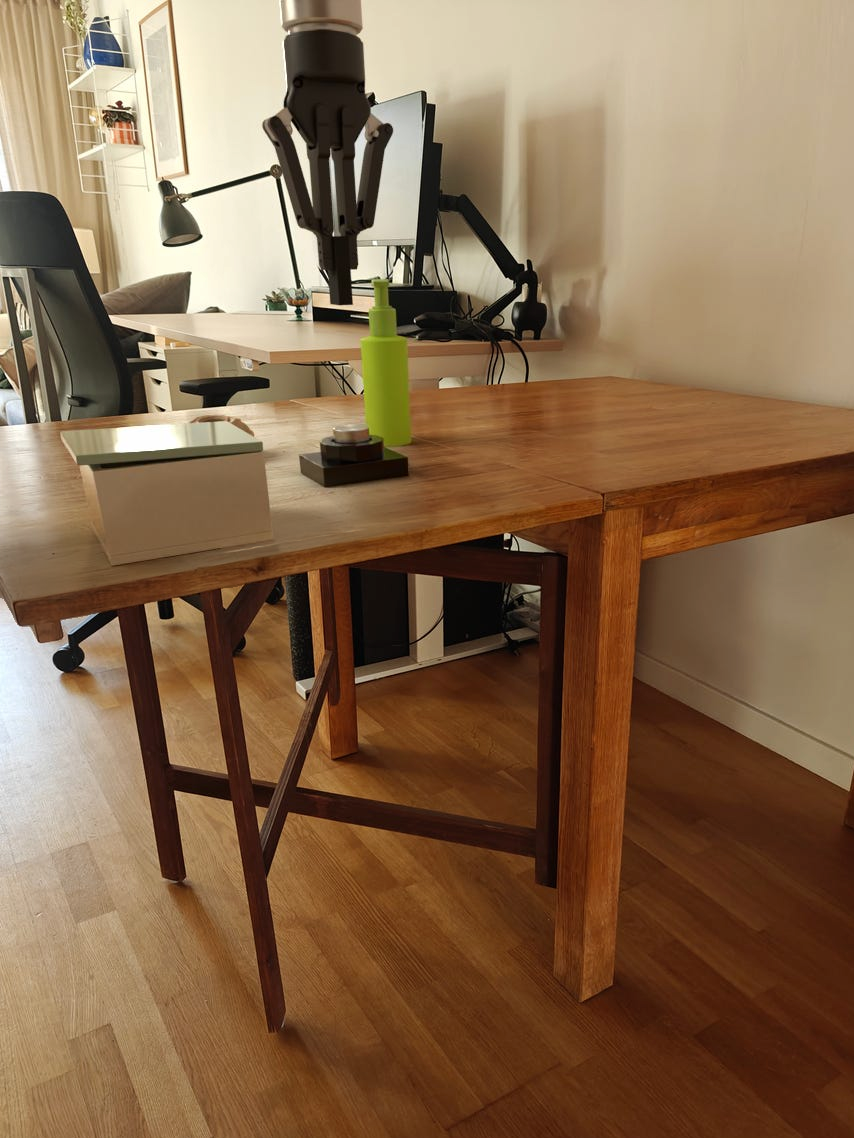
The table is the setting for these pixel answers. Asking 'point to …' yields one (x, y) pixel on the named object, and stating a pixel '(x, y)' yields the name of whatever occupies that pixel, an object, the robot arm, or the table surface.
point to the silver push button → (351, 434)
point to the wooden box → (177, 505)
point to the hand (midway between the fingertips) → (341, 304)
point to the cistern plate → (352, 463)
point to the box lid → (157, 442)
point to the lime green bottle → (386, 373)
